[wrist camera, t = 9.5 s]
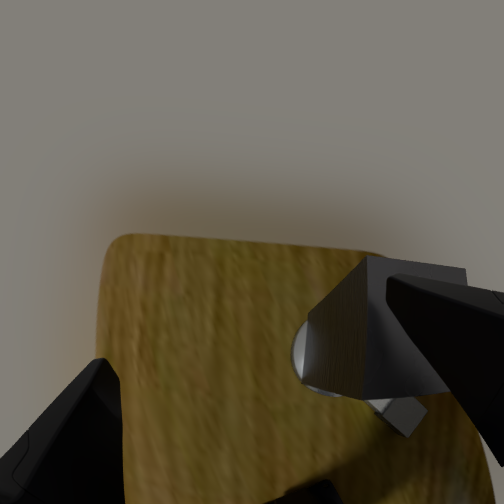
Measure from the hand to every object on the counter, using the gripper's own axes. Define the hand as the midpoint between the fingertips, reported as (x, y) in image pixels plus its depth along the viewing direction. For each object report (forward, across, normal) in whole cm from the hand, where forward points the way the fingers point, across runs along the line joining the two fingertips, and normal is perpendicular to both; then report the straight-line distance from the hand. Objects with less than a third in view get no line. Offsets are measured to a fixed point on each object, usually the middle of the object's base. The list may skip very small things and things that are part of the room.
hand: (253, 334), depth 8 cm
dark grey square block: (+7, -6, +10) cm, 14 cm away
